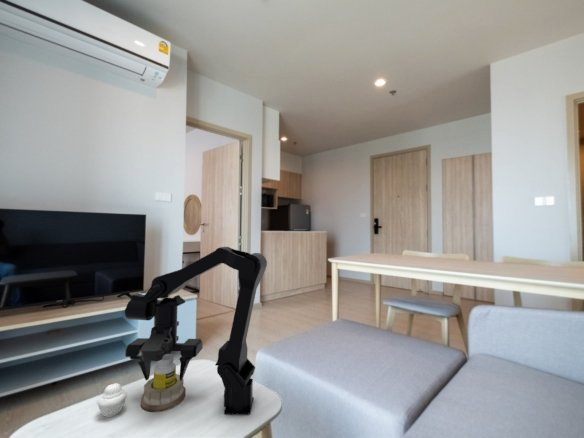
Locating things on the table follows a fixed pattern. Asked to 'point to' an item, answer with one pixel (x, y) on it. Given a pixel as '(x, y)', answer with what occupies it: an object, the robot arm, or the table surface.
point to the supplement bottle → (164, 373)
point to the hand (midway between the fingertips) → (164, 379)
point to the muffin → (112, 400)
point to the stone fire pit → (162, 396)
